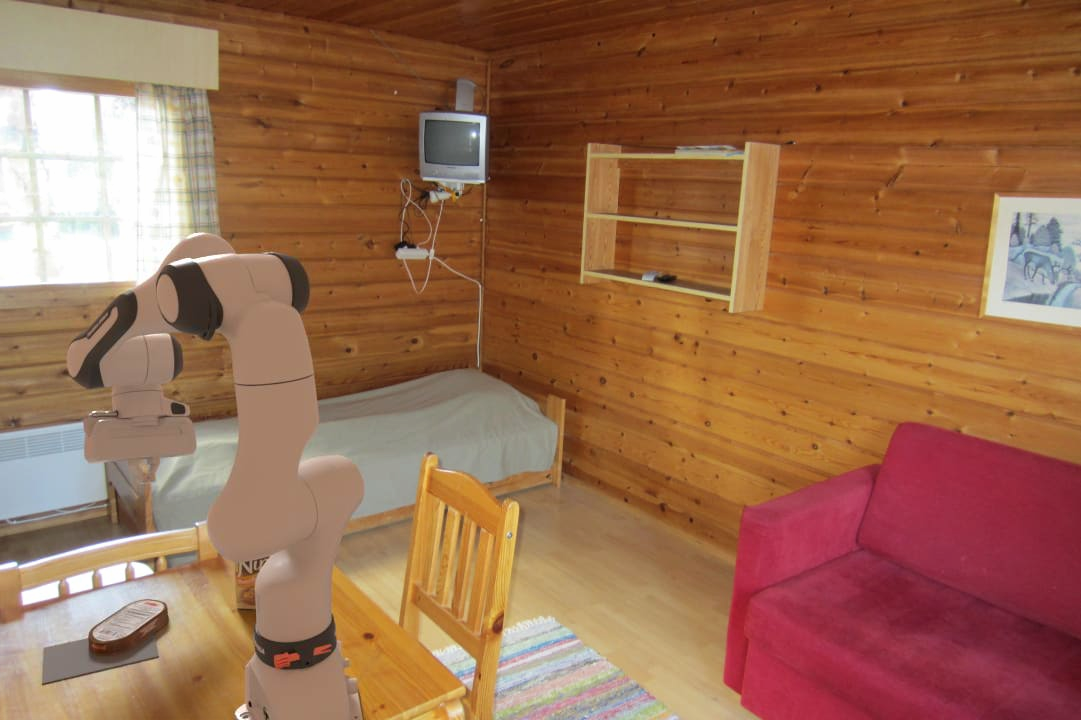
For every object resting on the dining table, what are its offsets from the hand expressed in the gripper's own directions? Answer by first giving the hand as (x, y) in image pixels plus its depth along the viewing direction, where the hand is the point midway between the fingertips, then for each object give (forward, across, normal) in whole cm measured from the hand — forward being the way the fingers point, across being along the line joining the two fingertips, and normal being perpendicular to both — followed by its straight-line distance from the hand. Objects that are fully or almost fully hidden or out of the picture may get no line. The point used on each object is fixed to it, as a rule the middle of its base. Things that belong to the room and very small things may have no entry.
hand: (146, 483), depth 151 cm
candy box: (+26, +16, -9) cm, 32 cm away
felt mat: (+28, -10, 0) cm, 30 cm away
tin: (+23, -6, +5) cm, 25 cm away
